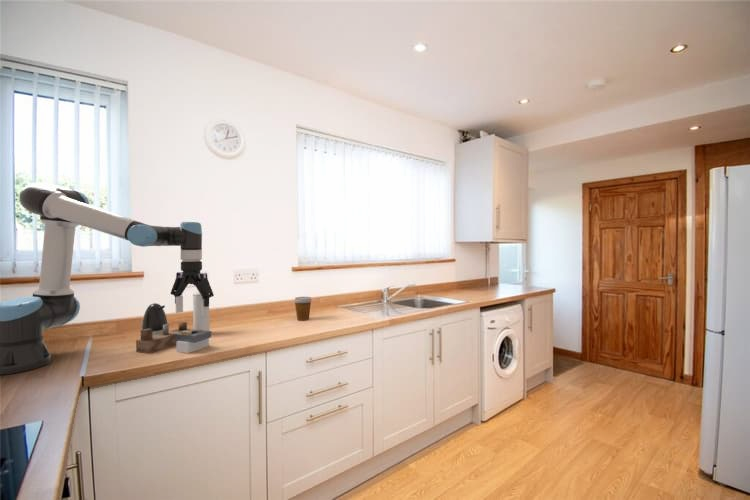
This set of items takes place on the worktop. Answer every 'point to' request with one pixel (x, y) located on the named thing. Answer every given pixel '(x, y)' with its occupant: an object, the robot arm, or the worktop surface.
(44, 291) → the robot arm
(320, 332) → the worktop surface
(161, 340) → the plane body
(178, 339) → the lever cap
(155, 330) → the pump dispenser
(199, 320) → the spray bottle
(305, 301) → the disposable coffee cup
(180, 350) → the white rectangular block
